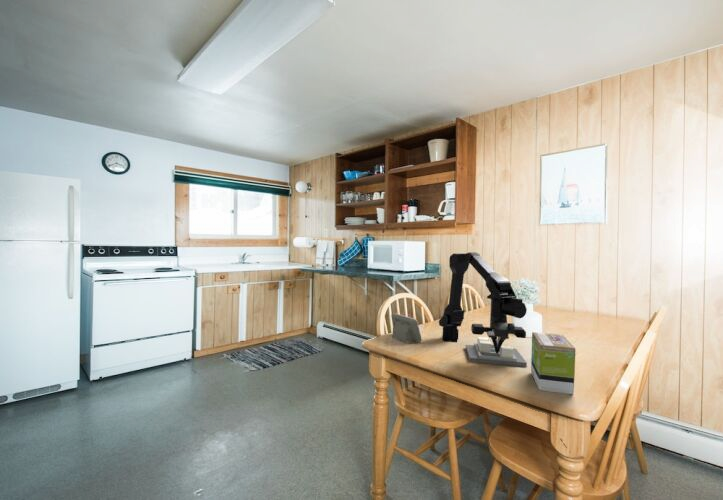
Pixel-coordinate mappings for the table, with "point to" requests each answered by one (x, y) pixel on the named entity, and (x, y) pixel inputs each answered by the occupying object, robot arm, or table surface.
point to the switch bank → (494, 356)
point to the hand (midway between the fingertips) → (496, 352)
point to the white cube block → (484, 346)
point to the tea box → (553, 363)
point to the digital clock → (405, 328)
